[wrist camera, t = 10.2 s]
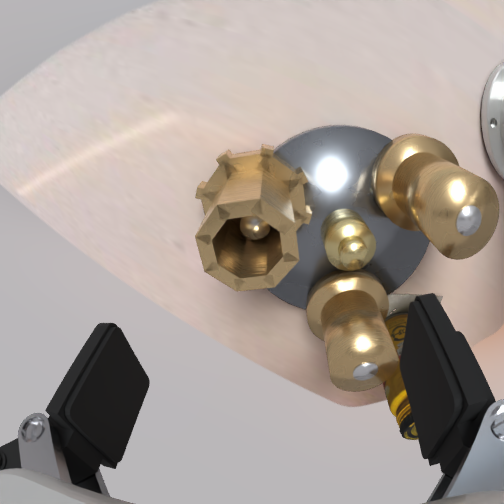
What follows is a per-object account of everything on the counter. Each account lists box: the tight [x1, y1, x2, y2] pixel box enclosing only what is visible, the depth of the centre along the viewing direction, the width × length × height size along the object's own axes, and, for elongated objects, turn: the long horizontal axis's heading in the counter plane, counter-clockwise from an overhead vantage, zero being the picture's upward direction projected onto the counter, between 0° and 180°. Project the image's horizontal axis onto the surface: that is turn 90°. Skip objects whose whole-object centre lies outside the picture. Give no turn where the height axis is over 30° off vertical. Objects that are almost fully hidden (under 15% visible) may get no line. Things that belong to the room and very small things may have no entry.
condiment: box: [383, 294, 443, 440], centre depth 24 cm, size 7×8×12 cm
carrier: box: [240, 125, 499, 392], centre depth 21 cm, size 18×19×9 cm
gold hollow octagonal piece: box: [195, 144, 312, 291], centre depth 19 cm, size 8×8×8 cm
